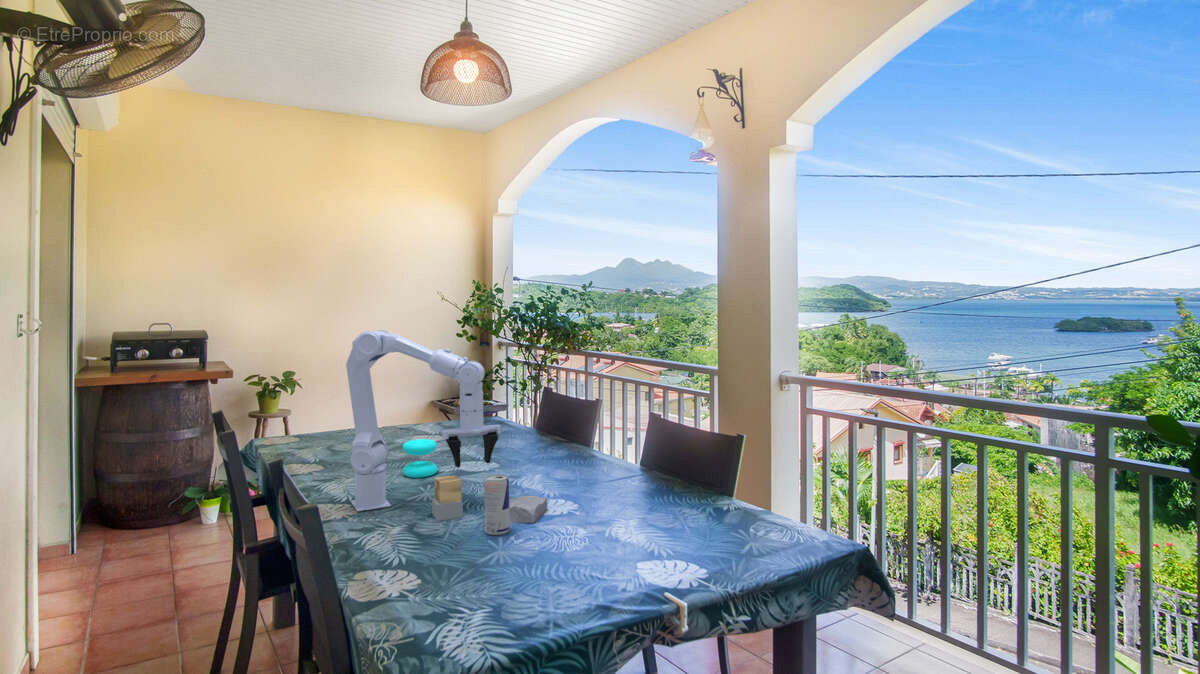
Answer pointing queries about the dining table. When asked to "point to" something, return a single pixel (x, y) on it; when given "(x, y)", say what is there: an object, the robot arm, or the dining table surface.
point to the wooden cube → (448, 489)
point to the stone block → (526, 509)
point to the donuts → (420, 467)
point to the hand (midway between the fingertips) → (472, 464)
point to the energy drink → (496, 504)
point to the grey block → (447, 510)
